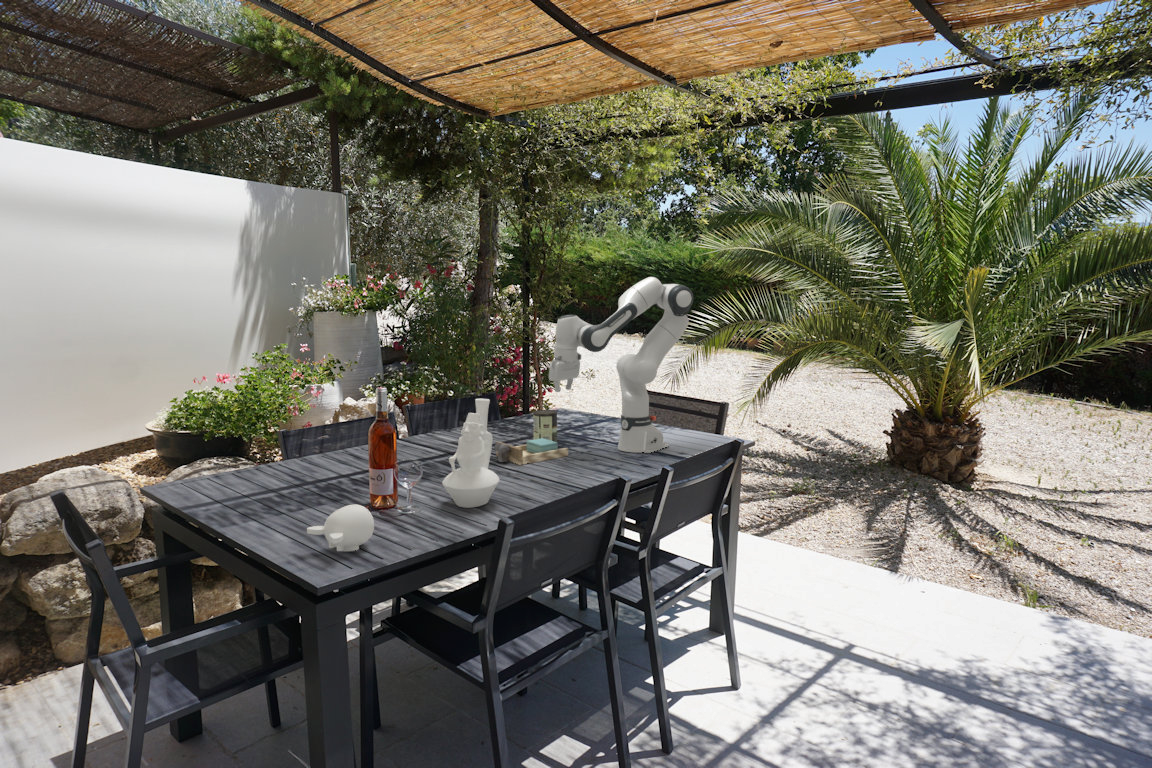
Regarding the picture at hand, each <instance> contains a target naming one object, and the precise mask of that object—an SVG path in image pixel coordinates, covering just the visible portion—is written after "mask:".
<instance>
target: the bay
mask: <svg viewBox="0 0 1152 768" xmlns="http://www.w3.org/2000/svg"><path fill="white" fill-rule="evenodd" d="M526 448H527V443H526V444H521V445H516V446H514V445H511V444H507V443H505V442H502V441H496V442H495V444H494V451H496V452H495V453H496V455H495V456H498V457H497V458H498V459H497V460H498V461H500V462H505V463H508V462H509V461H511V462H510V463H512V462H513V464H515V463H516V464H515V465H517V464H518V466H523V465H527V463H529V464H534V463H538V462H544V461H549V460H554V459H559V458H564V457H568V456H569V448H568V447H563V448H562V447H561V448H558V449H557V450H551V451H546V452H540V453H533V452H530V451H527V449H526ZM507 460H508V461H507ZM498 461H497V462H498ZM500 462H499V463H500ZM533 462H534V463H533ZM522 464H523V465H522Z"/></svg>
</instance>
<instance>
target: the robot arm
mask: <svg viewBox="0 0 1152 768" xmlns="http://www.w3.org/2000/svg"><path fill="white" fill-rule="evenodd" d="M693 303H694V292H693V291H692V290H691V289H690V287H687V285H683V284H677V283H662V282H661V281H660V280H659V278H657V277H655V276H648V277H646V278H644V279H642V280H640V281H638V282H636V283H635V284H634V285H632V286H630V287H629V288H628V289H627V290H626V291H624V292H623V294H621V296H620V297H619V298H618V303H617V305H618V308H617V310H616V311H615V312H614V313H613V314H612V315H610V316H609V317H608V318H607V319H605V321H603V322H602V323H600V324H594V325H593V324H591V323H588V322H586V321H584V320H583V319H581V318H580V317H579V316H578V315H576V314H566V315H561V316H560V317H559V318H558V319H557V323H556V327H555V345H554V352H553V353H554V354H553V360H551V362H550V365H549V371H548V380H549V381H550V382H553V385H554V392H556V393H559V392H561V389H562V388H561V387H560V384H561V381H567V382H566V385H565V390H568V391H569V390H571V389H572V385H573V382H574V379H576V378H578V377H579V376H580V375H579V374H580V369H581V360H582V354H580V353H579V352H578V347H581V348H583V349H586V350H588V351H590V352H591V353H599V352H601V351H603V350H604V349H606V347H607V345H608V344H609V343H610V341H611V339H612V338H613V337H614V336H615V335H616V334H617V333H618V332H619V331H620V330H622V329H623V328H624V327H626V326H627V325H628V324H629V323H630V322H631V321H633V320H634V319H635V318H636V317H638V316H640V315H642V314H643V313H645V312H646V311H647V310H649V309H650V308H651V307H652V306H653V305H655V306H656V307H658V308H659V309H660V310H664V312H663V315H662V318H661V319H660V320H659V321H658V322H657V323H656V324H655V325H654V327H652V329H651V330H650V331H649V332H648V334H647V335H646V336H645V337H644V339H643V342H642V345H641V347H640V348H639V351H638V352H637V353H636V354H635V353H634V354H633V353H628V354H624V355H622V356H620V357H619V359H618V360H617V362H616V370H617V374H618V379H619V384H620V385H619V386H620V391H621V415H620V433H619V434H620V435H619V440H618V444H617V449H618V450H619V451H622V452H627V453H642V452H644V453H647V454H651V452H652V453H655V452H658V451H661V450H663V449H662V448H664V449H666V448H665V447H667V448H669V447H670V444H669V443H666V442H665V441H664V435H663V432H662V431H661V430H660V429H658V427H656V426H655V425H654V424H653V423H652V421H654V422H656V420H657V416H656V415H649V413H650V410H649V409H650V396H649V393H648V391H647V386H646V385H647V384H651V383H652V382H653V381H654V380H655V379H656V378H657V374H658V369H659V368H660V366H661V364H662V362H663V360H664V359H665V357H666V355H667V354H668V353H669V352H670V351H671V350H672V349H673V347H674V346H675V345H676V343H678V341H679V340H680V339H681V337H682V336H683V334H684V333H685V331H686V329H688V328H687V327H688V326H689V324H690V323H689V322H690V320H689V317H688V316H687V315H688V314H689V312H690V309H691V308H692V305H693ZM668 446H669V447H668ZM660 449H661V450H660ZM657 450H658V451H657ZM654 451H655V452H654Z"/></svg>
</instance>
